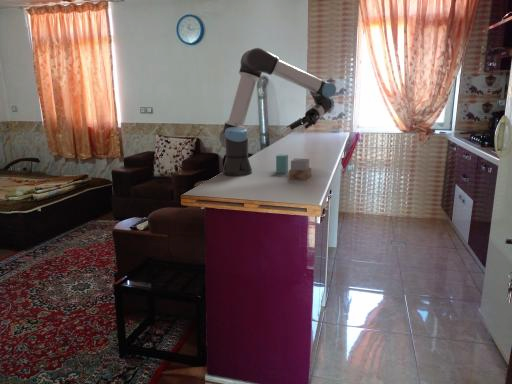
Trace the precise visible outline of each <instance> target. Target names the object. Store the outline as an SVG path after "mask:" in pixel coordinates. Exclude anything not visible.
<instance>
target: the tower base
mask: <svg viewBox="0 0 512 384" xmlns="http://www.w3.org/2000/svg"><path fill="white" fill-rule="evenodd" d="M311 177H312V167H309V169H307V170H306V171H300V170H291V168H290V169H288V180H304V181H305V180H306V181H308V180H309V179H310V178H311Z"/></svg>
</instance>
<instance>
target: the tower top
mask: <svg viewBox="0 0 512 384" xmlns="http://www.w3.org/2000/svg"><path fill="white" fill-rule="evenodd" d="M309 168H310V158H295V157H294V158H293V159H291V160H290V169H291V170H300V171H306V170H307V169H309Z"/></svg>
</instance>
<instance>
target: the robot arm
mask: <svg viewBox="0 0 512 384" xmlns="http://www.w3.org/2000/svg"><path fill="white" fill-rule="evenodd" d="M262 73H264V74H266V75H269V76H272V75H274V76H276V77H279V78H280V79H283V80H285V81H287V82H290V83H292V84H294V85H297V86H299V87H300V88H304V89H306V90H307V91H309V93H310V95H311V96H312V97H311V98H312V99H313V101H314V103H315V104H314V105H313V106H311V107H310V108H309V109H308V110H306V112H305V114H304V116H303V117H302V118H301V117H300V118H298V119H297V120H295V121H294V122H292V123H290V124H289V125H287V126H286V128H285V129H284V130H282V131H281V134H282V137H287V135H288V134H290V133H292V131H293V130H294V129H297V128H299V130H300V133H301V134H302V133H304V132H305V131H306V130H308V129H310V127H312V126H315V125H316V123H317V121H318V120H319V119H320V120H321V119H322V117H323V116H325V114H327V113H328V112H330V111H331V110H332V109H333V107H334V106H335V101H334V99H333V98H332V97H334V96H335V94H336V93H337V87H336V85H335V83H333V82H327V81H325V80H323V79H321V78H319V77H317V76H315V75H313V74H310V73H308V72H306V71H304V70H302V69H300V68H298V67H295V66H293V65H291V64H289V63H287V62H285V61H283V60H281V59H280V58H279V56H278V55H275V54H273V53H271V52H270V51H267V50H265V49H263V48H260V47H255V48H252V49H250V50H246V51H245V52H244V53H243V54H242V56H241V59H240V68H239V71H238V74H239V76H240V79H239V82H238V86H237V89H236V93H235V96H234V100H233V104H232V107H231V110H230V115H229V118H228V120H227V121H225V122H224V125H223V129H222V130H221V132H220V134H219V141H220V144H221V146H222V147H223V148H224V149H225V161H224V164H223V168H222V175H225V176H230V177H232V176H233V177H241V176H248V175H251V174H253V168H252V166H251V162H250V160H249V159H250V158H249V132H248V129H246V127H245V123H246V118H247V115H248V112H249V108H250V106H251V101H252V98H253V93H254V91H255V87H256V83H257V82H258V81H259V80H261V76H262Z"/></svg>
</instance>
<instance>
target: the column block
mask: <svg viewBox="0 0 512 384" xmlns="http://www.w3.org/2000/svg"><path fill="white" fill-rule="evenodd" d="M275 164H276V165H275V171H276V172H275V173H276V174H287V173H289V155H288V154H276V156H275Z"/></svg>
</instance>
